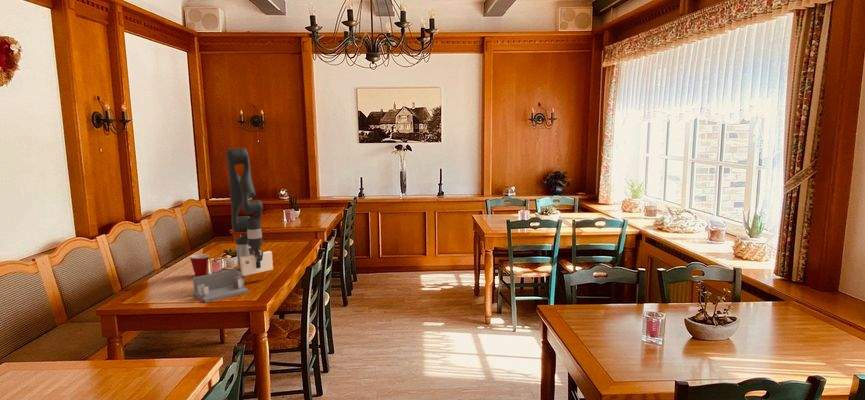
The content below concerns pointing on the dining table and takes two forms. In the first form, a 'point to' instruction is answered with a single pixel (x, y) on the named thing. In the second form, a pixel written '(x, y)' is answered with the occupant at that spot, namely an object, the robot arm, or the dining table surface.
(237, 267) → the tin
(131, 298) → the dining table surface
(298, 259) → the dining table surface
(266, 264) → the door
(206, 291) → the hinge bracket
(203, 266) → the plastic cup
